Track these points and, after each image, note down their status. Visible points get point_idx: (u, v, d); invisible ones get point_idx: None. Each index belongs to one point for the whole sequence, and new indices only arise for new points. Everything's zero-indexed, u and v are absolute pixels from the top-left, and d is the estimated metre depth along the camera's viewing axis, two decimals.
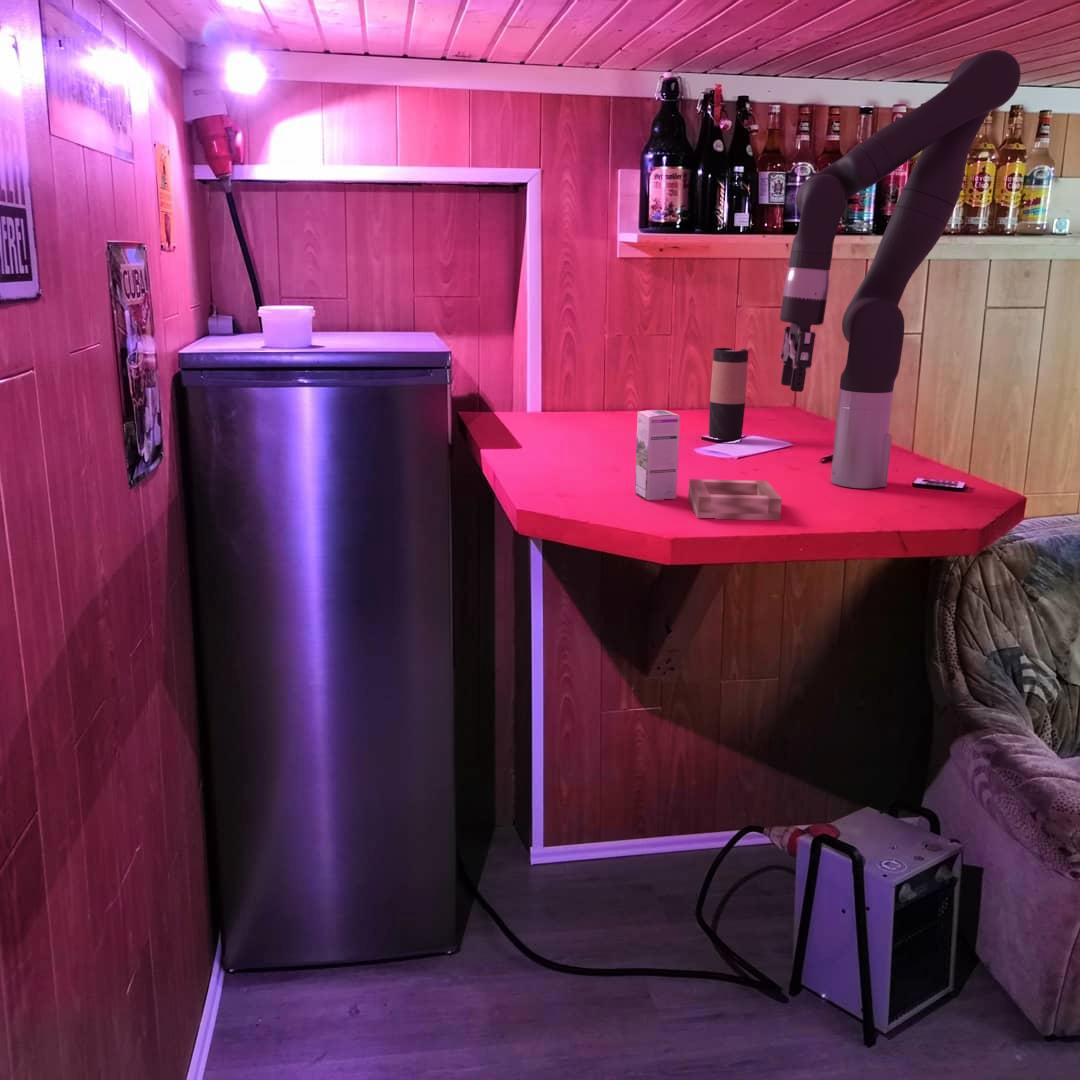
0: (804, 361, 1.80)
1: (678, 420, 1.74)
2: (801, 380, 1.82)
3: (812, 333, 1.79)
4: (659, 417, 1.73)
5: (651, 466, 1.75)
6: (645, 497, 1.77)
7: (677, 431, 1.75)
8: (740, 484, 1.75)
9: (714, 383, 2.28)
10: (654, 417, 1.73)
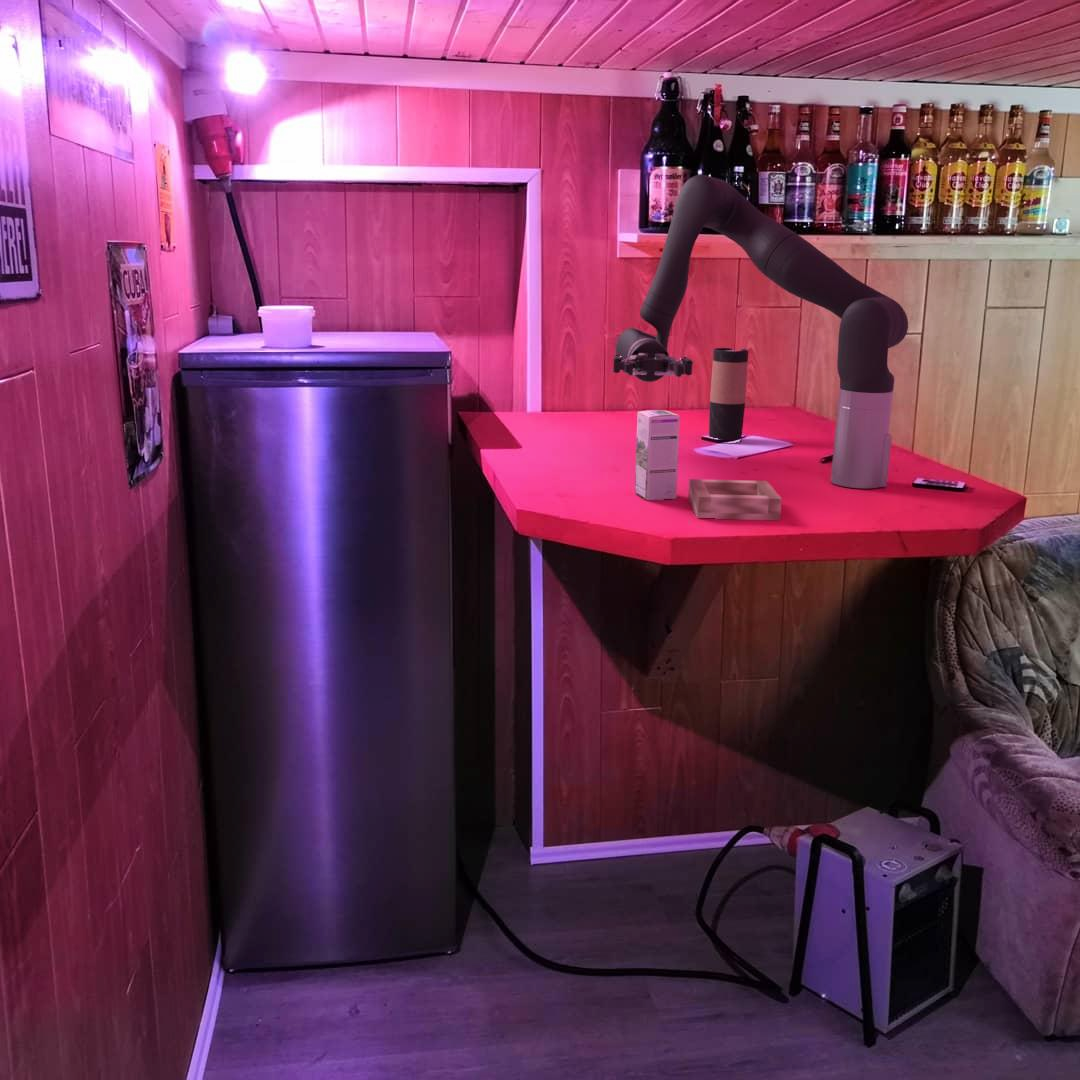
0: (614, 364, 1.90)
1: (678, 420, 1.74)
2: (624, 365, 1.87)
3: None
4: (659, 417, 1.73)
5: (651, 466, 1.75)
6: (645, 497, 1.77)
7: (677, 431, 1.75)
8: (740, 484, 1.75)
9: (714, 383, 2.28)
10: (654, 417, 1.73)
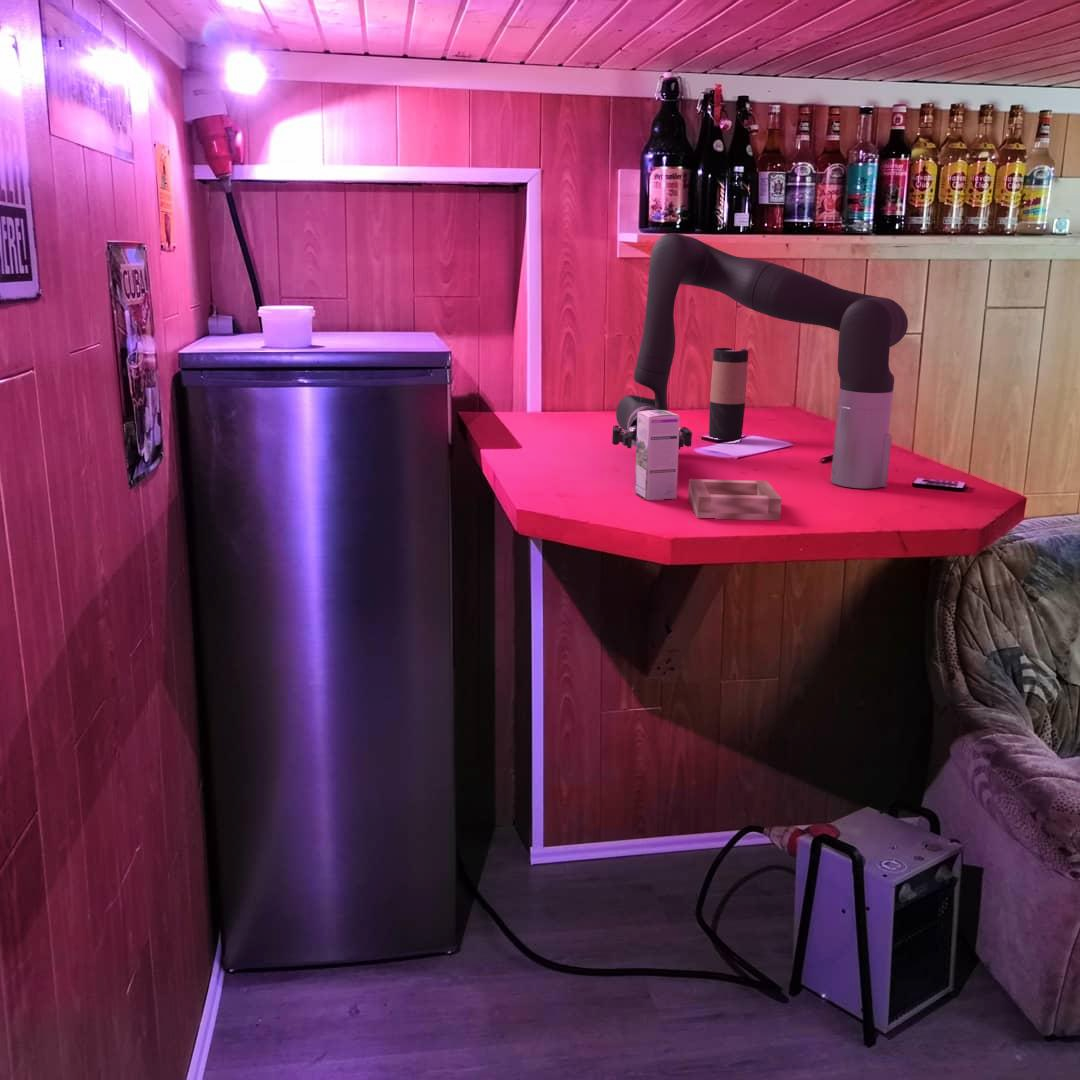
0: None
1: (678, 420, 1.74)
2: (623, 438, 1.86)
3: None
4: (659, 417, 1.73)
5: (651, 466, 1.75)
6: (645, 497, 1.77)
7: (677, 431, 1.75)
8: (740, 484, 1.75)
9: (714, 383, 2.28)
10: (654, 417, 1.73)
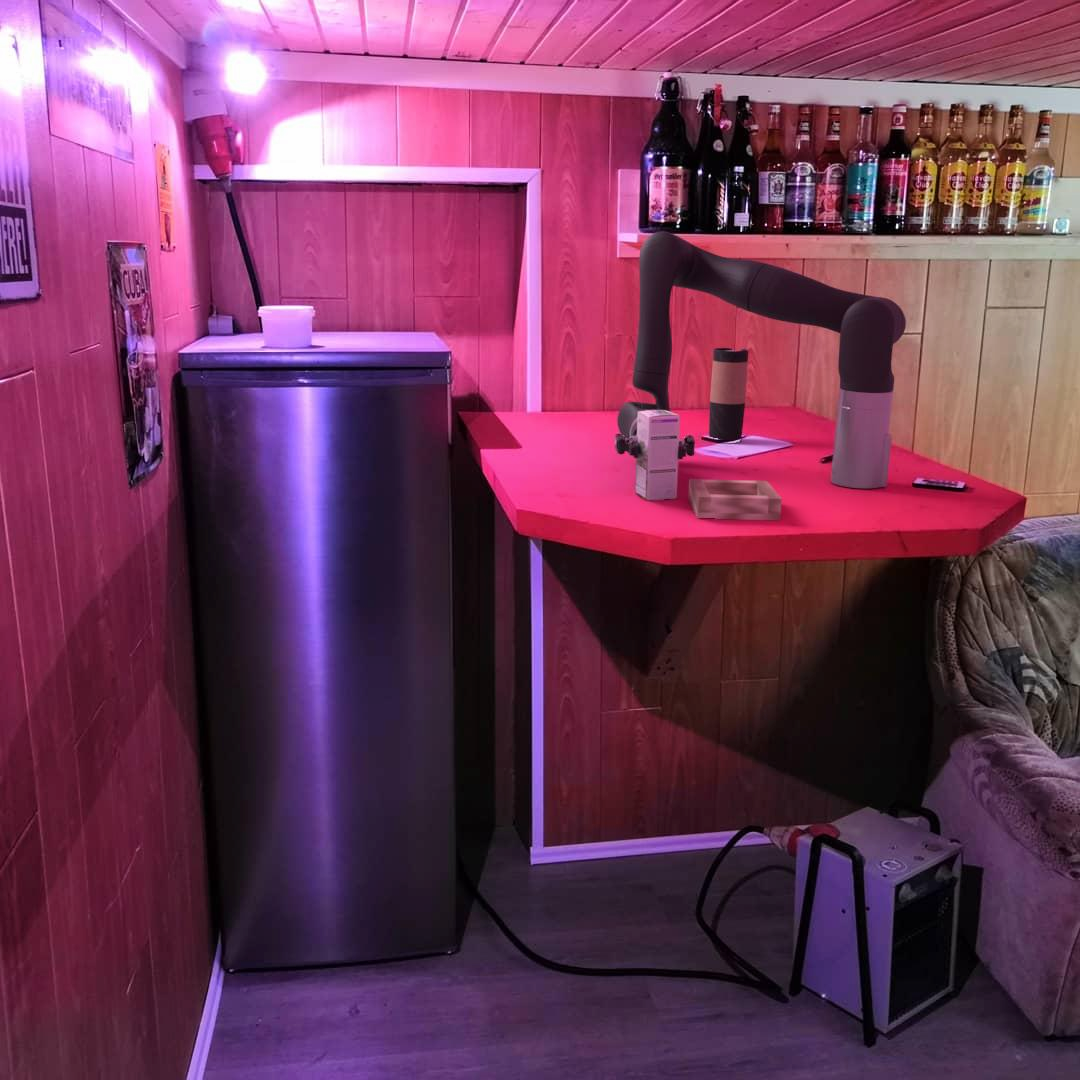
0: None
1: (678, 420, 1.74)
2: (629, 447, 1.78)
3: (616, 436, 1.85)
4: (659, 417, 1.73)
5: (651, 466, 1.75)
6: (645, 497, 1.77)
7: (677, 430, 1.75)
8: (740, 484, 1.75)
9: (714, 383, 2.28)
10: (654, 417, 1.73)
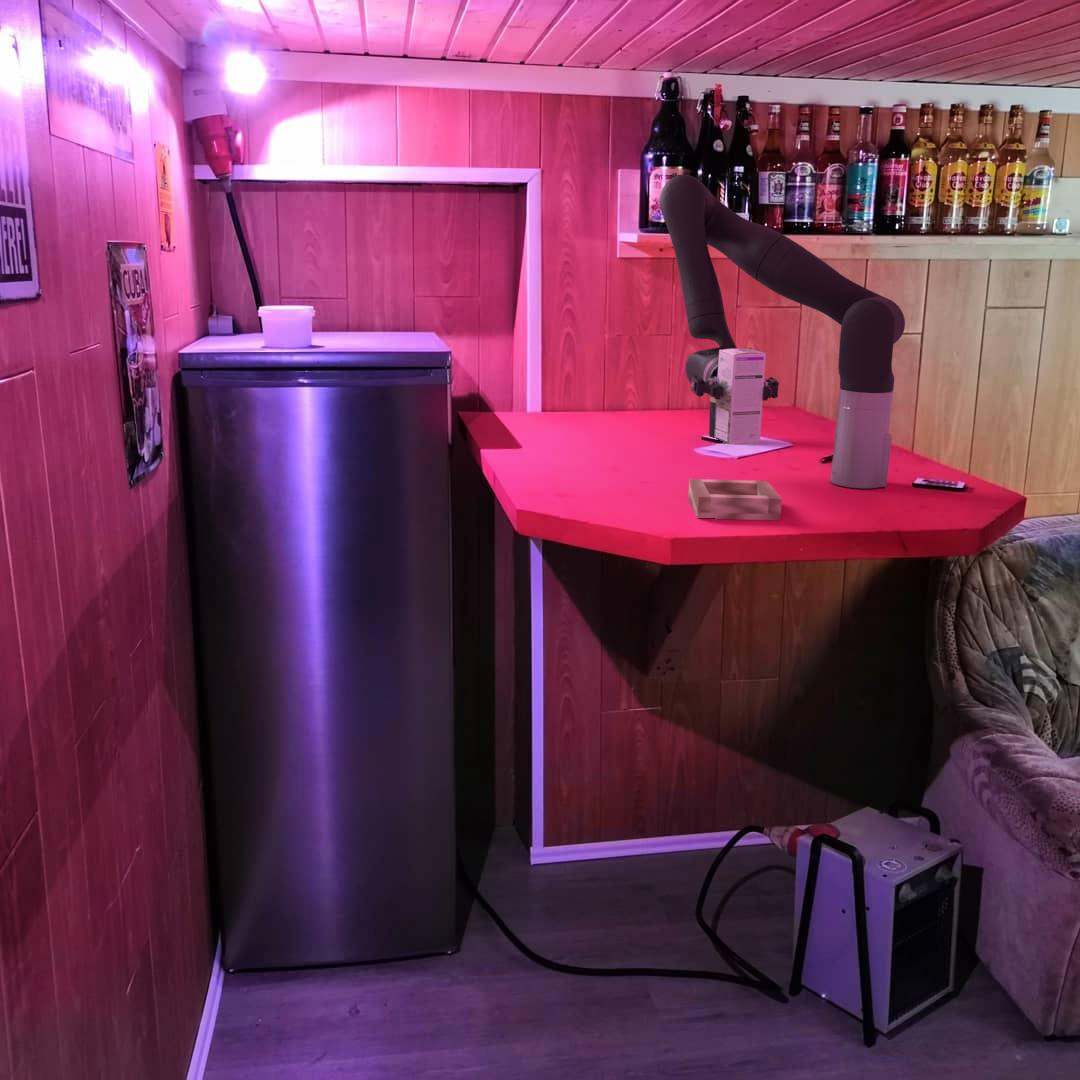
0: (697, 387, 1.70)
1: (764, 358, 1.63)
2: (710, 388, 1.67)
3: None
4: (744, 354, 1.62)
5: (735, 407, 1.64)
6: (727, 441, 1.66)
7: (763, 369, 1.64)
8: (740, 484, 1.75)
9: None
10: (739, 354, 1.62)
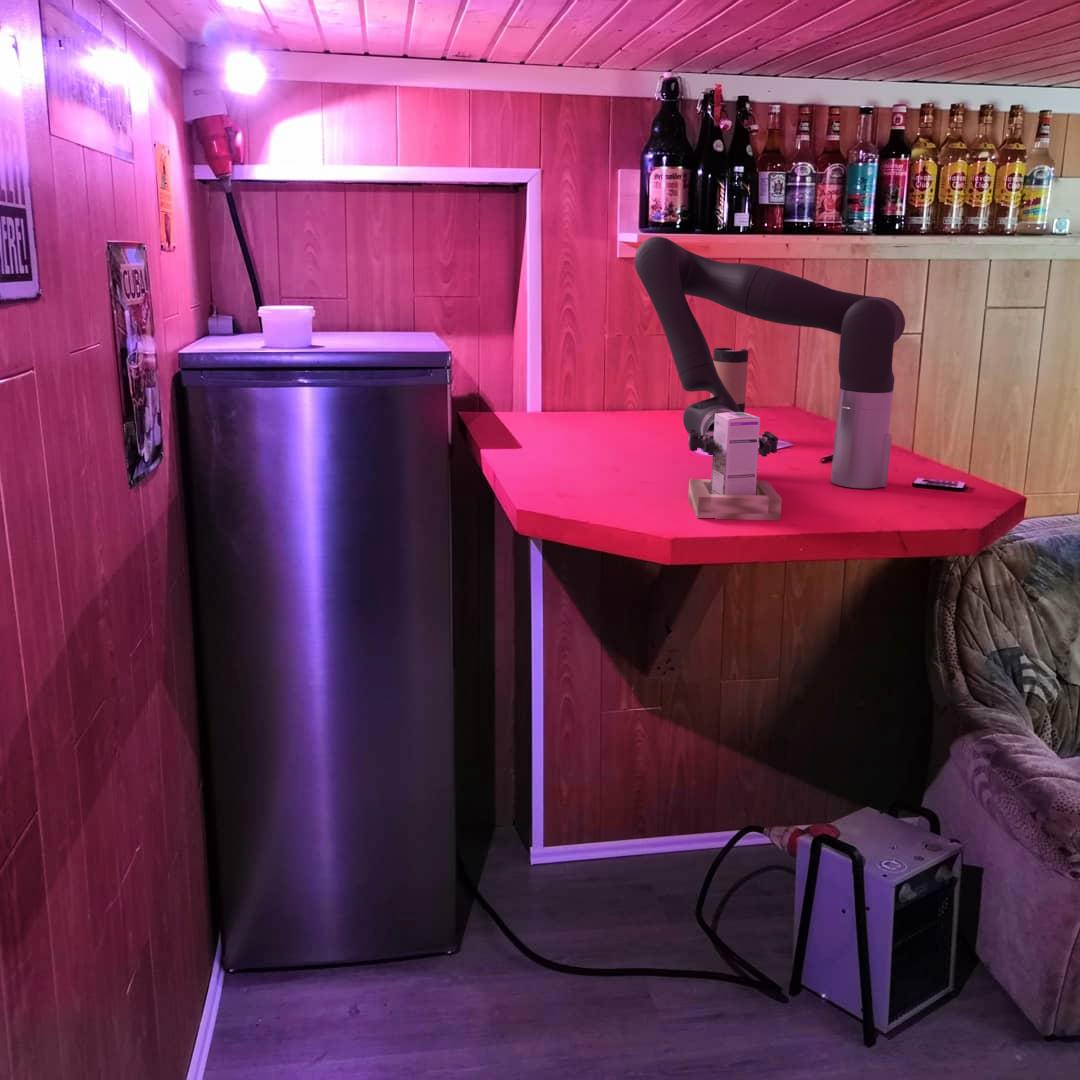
0: None
1: (758, 423, 1.66)
2: (703, 444, 1.69)
3: None
4: (739, 419, 1.65)
5: (729, 471, 1.67)
6: None
7: (757, 434, 1.67)
8: None
9: None
10: (733, 419, 1.65)
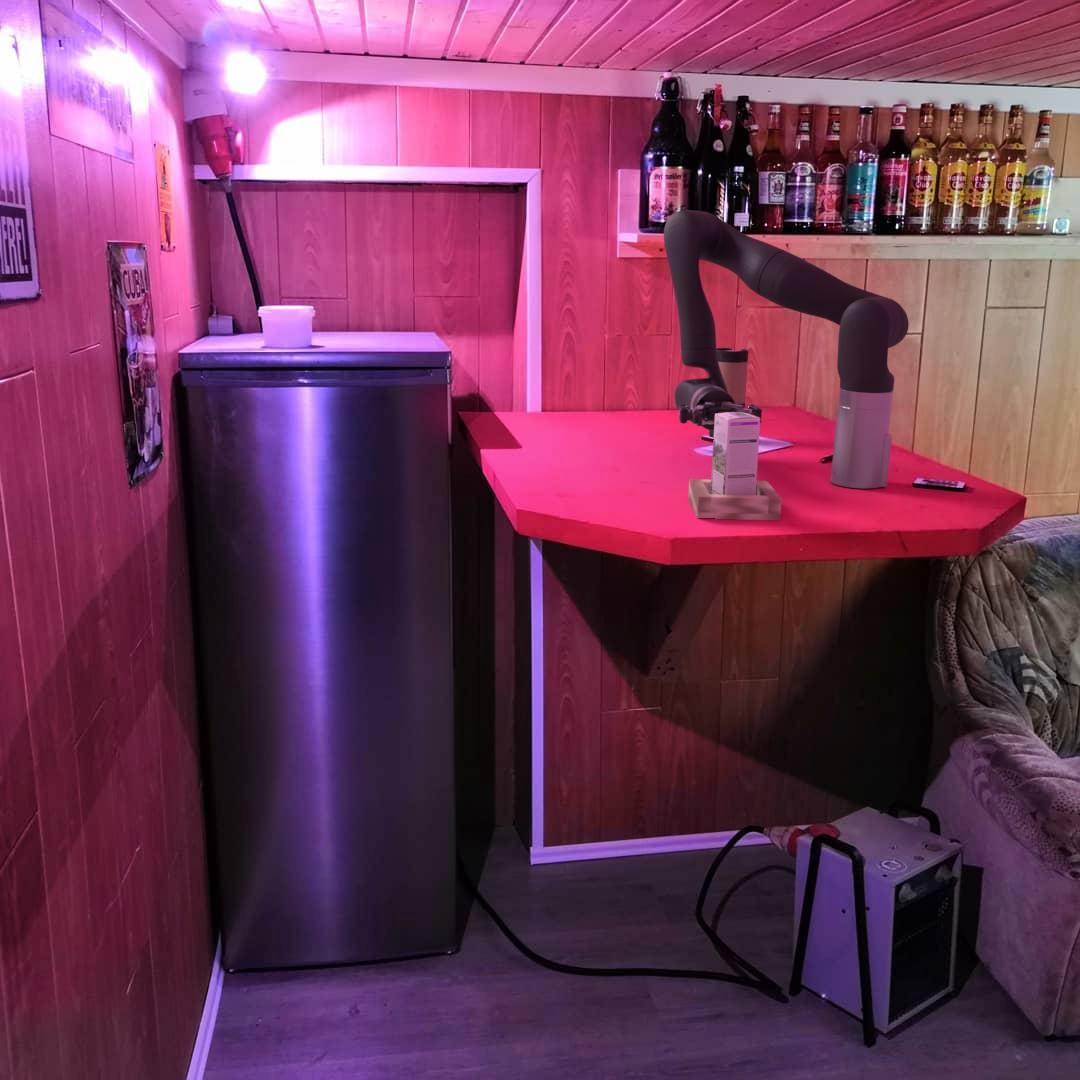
0: None
1: (758, 423, 1.66)
2: (692, 416, 1.82)
3: (680, 407, 1.90)
4: (739, 419, 1.65)
5: (729, 471, 1.67)
6: None
7: (757, 434, 1.67)
8: None
9: None
10: (733, 419, 1.65)
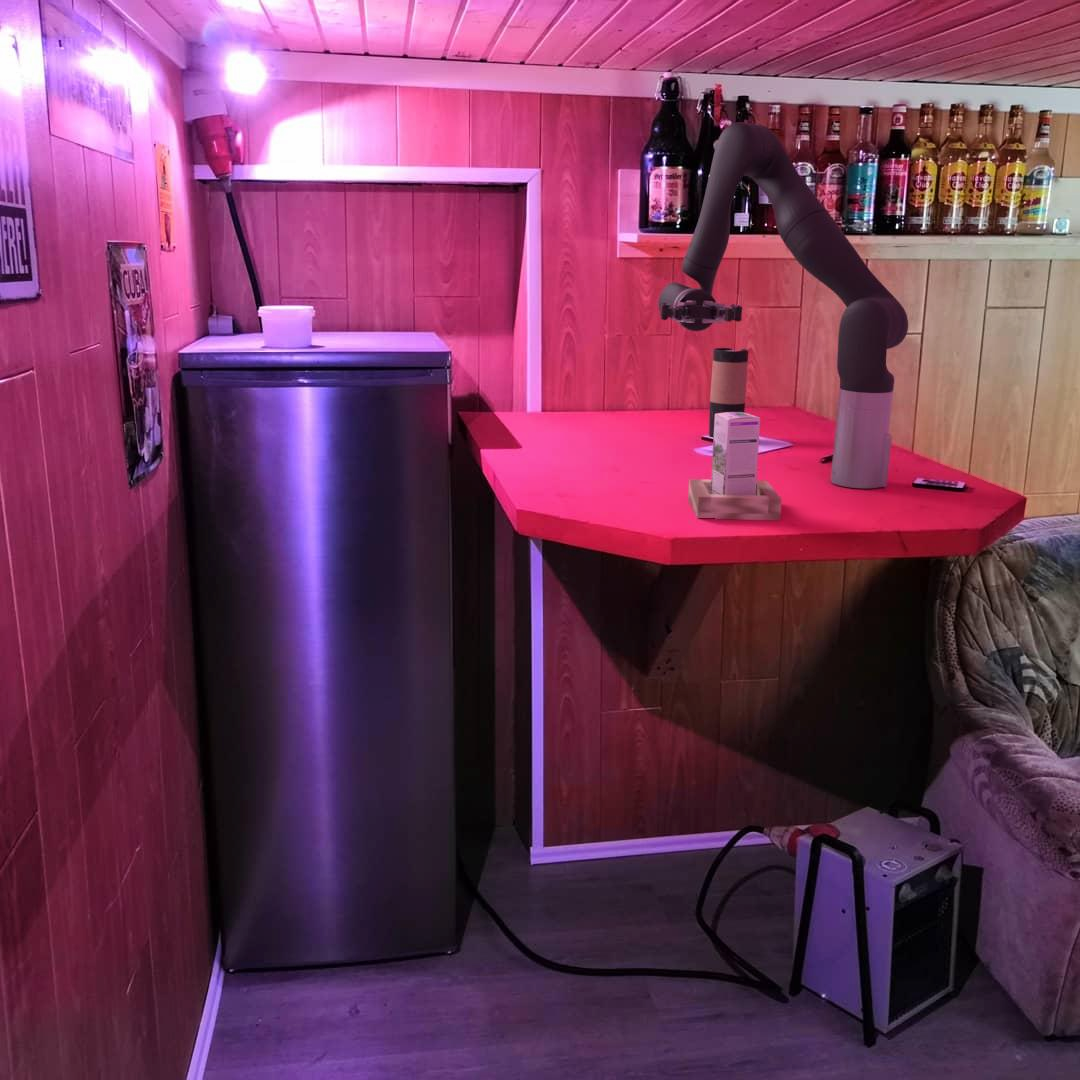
0: None
1: (758, 423, 1.66)
2: (673, 311, 1.83)
3: None
4: (739, 419, 1.65)
5: (729, 471, 1.67)
6: None
7: (757, 434, 1.67)
8: None
9: (714, 383, 2.28)
10: (733, 419, 1.65)
